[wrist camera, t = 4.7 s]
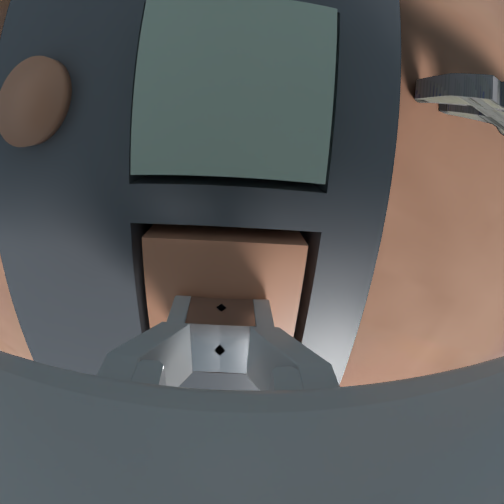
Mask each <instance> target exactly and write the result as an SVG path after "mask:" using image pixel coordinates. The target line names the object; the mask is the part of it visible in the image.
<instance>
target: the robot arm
mask: <svg viewBox="0 0 504 504" xmlns="http://www.w3.org/2000/svg"><path fill="white" fill-rule="evenodd" d="M192 371H200V372H219V371H220V372H225V373H243V374H247V376H248V377H249V378H250V379H251V381H252V382H253V383H254V384H255V386H256V387H257V388H258V389H259V390H260V391H249V390H217V389H199V388H186V387H179V386H180V385H181V384H182V383H183V382H184V381H185V380H186V379H187V378H188V376H189V375H190V374H191V373H192ZM0 504H504V356H502V357H499V358H496V359H493V360H489V361H486V362H482V363H478V364H474V365H471V366H467V367H463V368H458V369H454V370H450V371H445V372H440V373H436V374H431V375H425V376H420V377H414V378H409V379H403V380H396V381H389V382H382V383H375V384H366V385H358V386H348V387H340V386H339V383H338V381H337V378H336V375H335V373H334V370H333V367H332V365H331V364H330V363H329V362H327V361H326V360H324V359H323V358H322V357H320V356H319V355H317V354H316V353H314V352H313V351H312V350H310V349H309V348H307V347H306V346H305V345H303V344H302V343H300V342H299V341H297V340H296V339H295V338H293V337H292V336H291V335H289V334H288V333H286V332H285V331H284V330H282V329H281V328H279V327H275V326H274V321H273V316H272V311H271V307H270V302H269V300H268V299H222V298H209V297H196V296H192V297H191V296H182V295H176V296H175V298H174V301H173V304H172V307H171V310H170V313H169V316H168V319H167V322H161V323H159V324H157V325H156V326H154V327H152V328H150V329H149V330H147V331H145V332H143V333H142V334H140V335H138V336H137V337H135V338H133V339H131V340H130V341H128V342H126V343H124V344H123V345H121V346H119V347H117V348H116V349H114V350H112V351H111V352H109V353H107V355H106V357H105V359H104V361H103V363H102V365H101V368H100V370H99V372H98V374H97V376H96V375H91V374H86V373H81V372H76V371H72V370H67V369H63V368H59V367H55V366H51V365H47V364H43V363H39V362H35V361H32V360H28V359H25V358H21V357H18V356H15V355H11V354H8V353H5V352H2V351H0Z"/></svg>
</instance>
